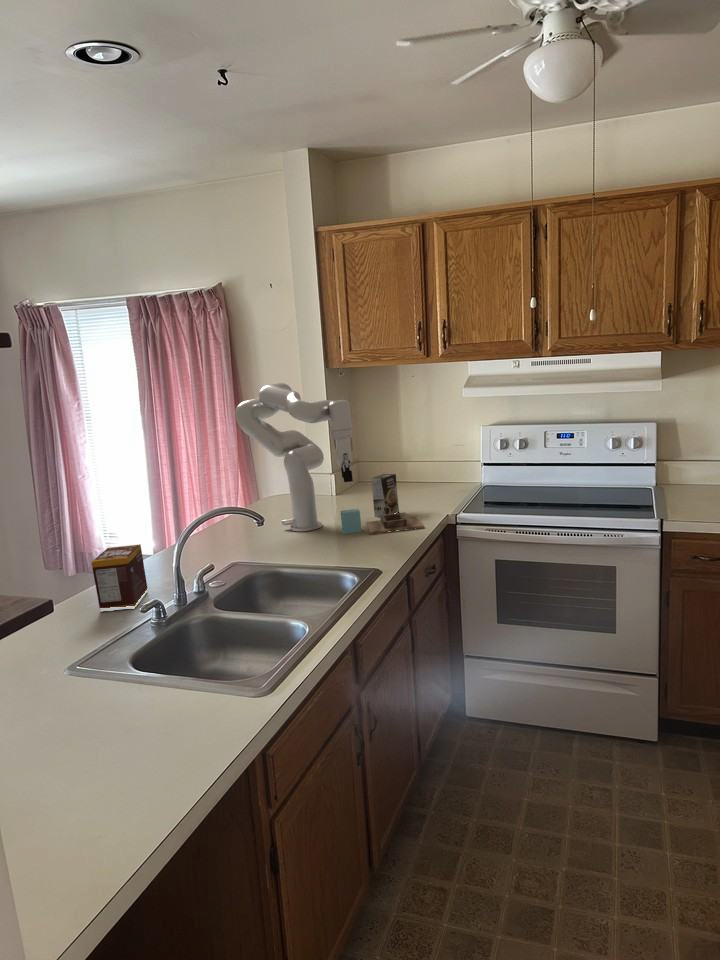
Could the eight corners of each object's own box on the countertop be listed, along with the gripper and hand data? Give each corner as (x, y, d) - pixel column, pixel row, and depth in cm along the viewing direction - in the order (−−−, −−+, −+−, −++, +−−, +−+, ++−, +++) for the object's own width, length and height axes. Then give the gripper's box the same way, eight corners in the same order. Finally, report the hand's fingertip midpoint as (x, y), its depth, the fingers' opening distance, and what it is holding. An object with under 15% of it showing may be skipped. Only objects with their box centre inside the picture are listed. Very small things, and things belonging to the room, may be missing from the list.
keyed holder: (370, 534, 265) (369, 525, 264) (365, 524, 280) (364, 515, 280) (423, 528, 266) (422, 519, 266) (416, 518, 282) (415, 509, 281)
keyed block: (343, 533, 270) (341, 513, 268) (342, 531, 274) (340, 510, 272) (361, 531, 270) (359, 511, 269) (360, 529, 274) (358, 508, 273)
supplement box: (148, 591, 224) (141, 543, 222) (135, 609, 209) (126, 558, 206) (115, 595, 224) (107, 547, 221) (99, 613, 209) (90, 561, 206)
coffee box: (387, 517, 287) (383, 478, 284) (374, 516, 291) (370, 477, 288) (399, 512, 294) (396, 473, 292) (387, 511, 298) (383, 473, 295)
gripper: (330, 432, 273) (335, 476, 276) (333, 437, 256) (338, 484, 259) (350, 430, 274) (355, 474, 277) (354, 435, 257) (359, 482, 260)
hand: (347, 479), depth 268 cm, fingers open, 9 cm apart
